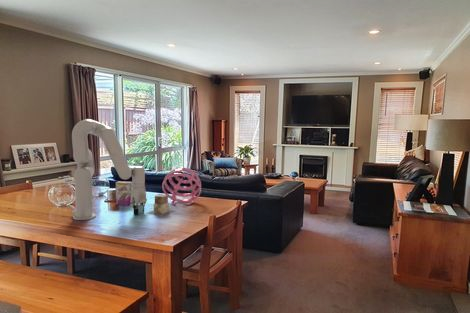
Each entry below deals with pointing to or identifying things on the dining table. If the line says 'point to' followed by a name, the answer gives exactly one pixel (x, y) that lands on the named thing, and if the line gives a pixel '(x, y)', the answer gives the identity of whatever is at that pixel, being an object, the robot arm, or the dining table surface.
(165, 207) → the tower base
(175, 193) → the pink openwork sphere
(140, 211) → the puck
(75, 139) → the robot arm
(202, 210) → the dining table surface
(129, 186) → the candy bar box
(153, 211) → the felt mat
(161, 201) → the tower top
